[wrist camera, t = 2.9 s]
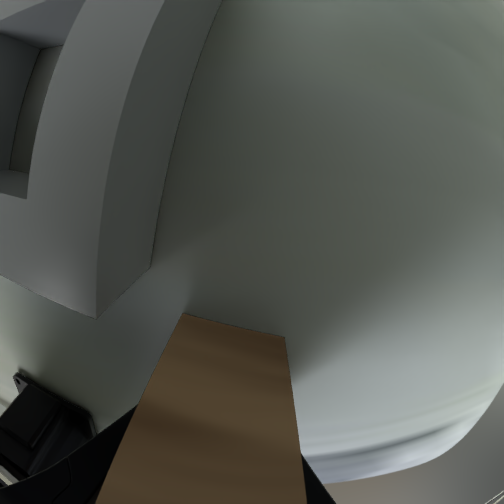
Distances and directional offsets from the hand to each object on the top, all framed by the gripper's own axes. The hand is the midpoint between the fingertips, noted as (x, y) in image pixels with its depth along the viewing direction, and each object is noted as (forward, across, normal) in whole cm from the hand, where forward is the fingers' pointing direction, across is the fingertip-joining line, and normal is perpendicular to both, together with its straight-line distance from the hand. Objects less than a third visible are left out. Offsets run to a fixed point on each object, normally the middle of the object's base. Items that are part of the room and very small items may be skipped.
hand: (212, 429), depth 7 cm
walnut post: (+4, 0, 0) cm, 4 cm away
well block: (+4, +9, -9) cm, 13 cm away
